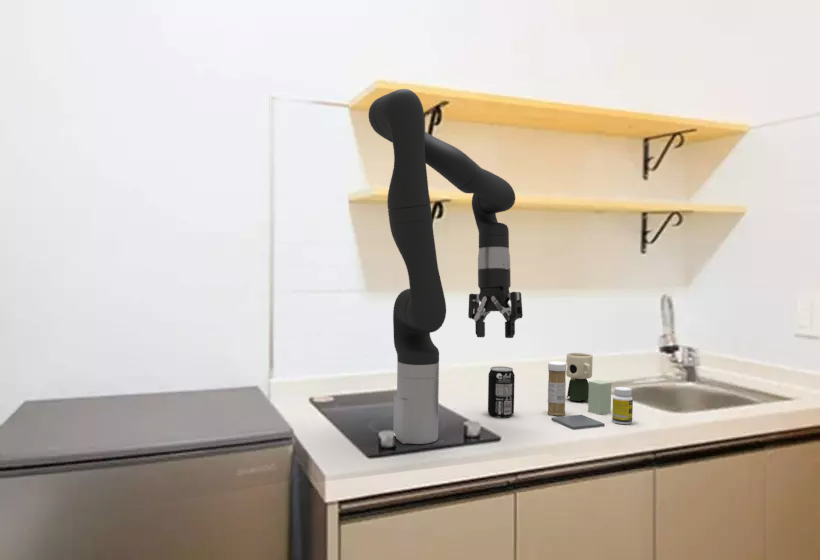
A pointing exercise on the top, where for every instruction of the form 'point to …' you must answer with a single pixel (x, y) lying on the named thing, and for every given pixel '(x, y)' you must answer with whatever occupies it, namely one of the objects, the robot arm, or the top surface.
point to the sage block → (599, 397)
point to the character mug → (579, 375)
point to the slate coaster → (577, 422)
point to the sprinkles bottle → (556, 388)
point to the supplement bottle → (622, 406)
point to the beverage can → (501, 392)
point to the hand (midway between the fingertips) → (494, 337)
